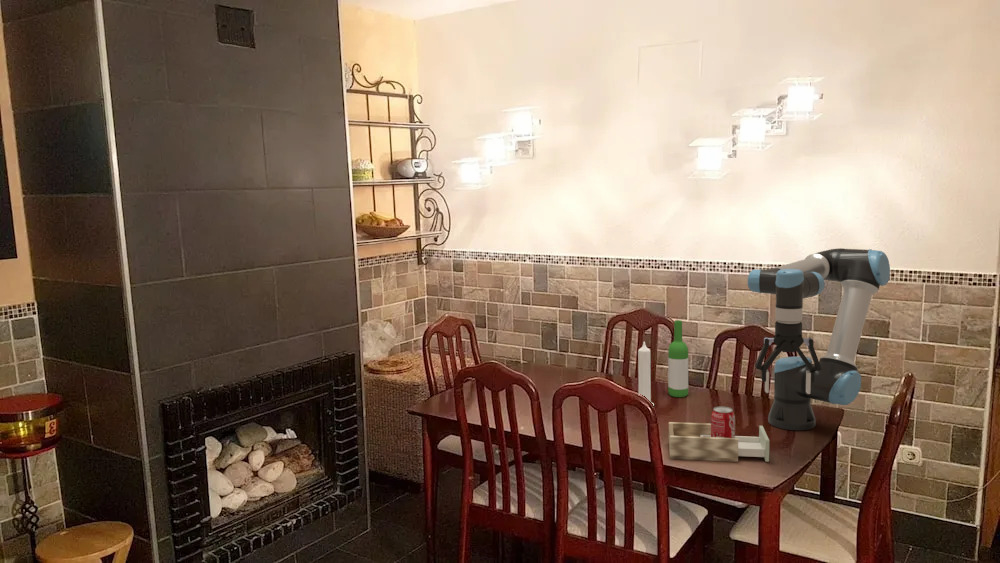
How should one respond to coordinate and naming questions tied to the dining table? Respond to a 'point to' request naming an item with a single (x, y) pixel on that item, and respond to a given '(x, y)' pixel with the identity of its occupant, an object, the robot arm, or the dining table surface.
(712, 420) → the soda can
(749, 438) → the drawer
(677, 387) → the wine bottle
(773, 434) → the dining table surface
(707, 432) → the light brown hollow box
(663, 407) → the dining table surface
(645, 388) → the candle
